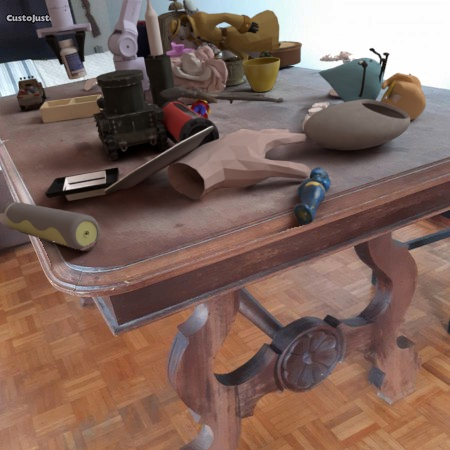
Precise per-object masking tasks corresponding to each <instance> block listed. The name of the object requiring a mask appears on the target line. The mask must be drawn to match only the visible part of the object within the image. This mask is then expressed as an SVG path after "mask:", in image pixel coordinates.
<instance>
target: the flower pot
mask: <svg viewBox="0 0 450 450" xmlns="http://www.w3.org/2000/svg"><path fill="white" fill-rule="evenodd" d="M242 64H243V69H244V73H245V74H244V76H245V78H246V80H247V82H248V84H249V86H250V87H251V89H252V90H253V91H254V92H255V93H262V92H263V93H265V92H268V91H271V90H272V89H273V88H274V86H275V83H276V81H277V78H278V75H279V72H280V68H279V66H280V59H279V58H275V57H265V58H256V59H251V60H247V61H245V62H243V63H242Z"/></svg>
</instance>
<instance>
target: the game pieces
mask: <svg viewBox="0 0 450 450" xmlns="http://www.w3.org/2000/svg"><path fill="white" fill-rule="evenodd" d="M329 105H330V103H329V102H328V101H325V102H324V101H323V102H314V103H313V105H311V108H309V109H308V114H307V113H306V116H304V119H303V121H302V123H301V128H302V129H301V130H302V131H304V125H305V123H306V121H307V120H308V119H309V118H310V117H311V116H312V115H314V114H315V113H316V112H318V111H320V110H322V109H324V108H326V107H329Z"/></svg>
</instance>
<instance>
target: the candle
mask: <svg viewBox="0 0 450 450" xmlns="http://www.w3.org/2000/svg"><path fill="white" fill-rule="evenodd" d="M144 21H145V22H146V28H147V34H148V40H149V45H150V51H151V54H149V55H148V58H147V59H145V61H146V66H147V77H148V78H149V83H148V84H149V90H150V94H151V100H152V104H156V105H157V106H158V107H160V108H161V107H162V105H164V104H165V103H166V102H169V101H168V100H165V99H163V98H162V97H161V96H160V95H159V94H160V93H161V92H162V91H164V90H167V89H170V88H173V87H175V86H174V79H173V73H172V66H171V59H170V55H167V53H165V52H163V49H162V43H161V36H160V30H159V23H158V13H157V12H156V10H154V6H153V4H152V3H151V0H146V10H145V13H144Z"/></svg>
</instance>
